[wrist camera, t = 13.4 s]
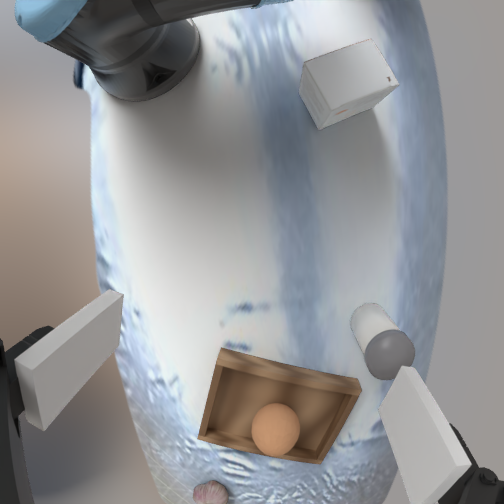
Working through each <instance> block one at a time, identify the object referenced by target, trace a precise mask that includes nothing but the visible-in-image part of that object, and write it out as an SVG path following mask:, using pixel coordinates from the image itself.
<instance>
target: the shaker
mask: <svg viewBox="0 0 504 504" xmlns="http://www.w3.org/2000/svg"><path fill="white" fill-rule="evenodd" d="M350 325H351V329H352V331H353V333H354V335H355V337H356V339H357V341H358V343H359V345H360V348H361V350H362V352H363V354H364V357H365V362H366V365H367V367H368V369H369V371H370V373H371V374H372V375H373V376H374V377H376V378H377V379H381V380H391V379H395V378H396V376H397V374H398V372H399V370H400V368H401V366H407V367H410V366H411V365H412V363H413V360H414V357H415V348H414V345H413V343H412V342H411V340H410V339H409V338H408V337H407V335H406V334H405V333H403V332H402V331H400V330H399V328H398V327H397V326H396V325H395V323H394V322H393V321H392V320H391V318H390V317H389V316H388V315H387V313H386V312H385V311H384V310H383V309H382V307H380V306H379V305H377V304H374V303H367V304H364V305H362V306H360V307H358V308H357V309H356V310H355V311H354V313H353V314H352V317H351V321H350Z"/></svg>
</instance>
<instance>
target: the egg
mask: <svg viewBox="0 0 504 504" xmlns="http://www.w3.org/2000/svg"><path fill="white" fill-rule="evenodd" d="M251 432H252V437H253V440H254V442H255V444H256V446H257V447H258V448H259V450H260V451H262V452H263V453H264V454H266V455H270V456H281V455H284V454H285V453H287V452H289V451H290V450H291V449H292V448H293V446H294V445H295V443H296V442H297V440H298V437H299V434H300V423H299V419H298V416H297V415H296V413H295V412H294V411H293V410H292V409H291V408H290V407H288V406H287V405H284V404H280V403H272V404H268V405H266V406H264V407H263V408H261V409H260V410H259V411H258V412H257V414H256V415H255V417H254V419H253V422H252V431H251Z"/></svg>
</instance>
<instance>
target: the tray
mask: <svg viewBox="0 0 504 504" xmlns="http://www.w3.org/2000/svg"><path fill="white" fill-rule="evenodd" d="M361 391H362V390H361V387H360V384H359V381H358V379H356V378H350V377H345V376H340V375H335V374H329V373H324V372H320V371H315V370H310V369H305V368H301V367H296V366H292V365H288V364H283V363H279V362H275V361H271V360H267V359H263V358H259V357H255V356H251V355H247V354H243V353H240V352H236V351H232V350H229V349H225V348H221V350H220V352H219V355H218V358H217V361H216V365H215V369H214V373H213V378H212V382H211V386H210V390H209V394H208V398H207V402H206V406H205V410H204V414H203V418H202V422H201V426H200V430H199V434H198V438H197V439H199V440H202V441H206V442H209V443H213V444H217V445H220V446H224V447H228V448H232V449H237V450H241V451H245V452H250V453H255V454H259V455H264V456H269V457H275V458H280V459H286V460H292V461H299V462H306V463H313V464H321V463H322V461H323V459H324V458H325V456H326V454H327V453H328V451H329V449H330V448H331V446H332V444H333V443H334V441H335V439H336V437H337V436H338V434H339V432H340V430H341V429H342V427H343V425H344V423H345V421H346V420H347V418H348V416H349V414H350V412H351V410H352V408H353V406H354V404H355V402H356V401H357V399H358V397H359V395H360V393H361ZM272 403H280V404H284V405H287V406H288V407H290V408H291V409H292V410H293V411H294V412H295V413H296V415H297V416H298V419H299V423H300V434H299V437H298V440H297V442H296V443H295V445H294V446H293V448H292V449H291V450H290V451H289V452H287V453H285V454H284V455H281V456H270V455H266V454H264V453H263V452H262V451H260V450H259V448H258V447H257V446H256V444H255V442H254V440H253V437H252V432H251V431H252V422H253V419H254V417H255V415H256V414H257V412H258V411H259V410H260V409H261V408H263V407H264V406H266V405H268V404H272Z"/></svg>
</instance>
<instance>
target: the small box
mask: <svg viewBox="0 0 504 504" xmlns="http://www.w3.org/2000/svg"><path fill="white" fill-rule="evenodd" d="M398 86H399V83H398V81H397V79H396V78H395V76H394V74H393V72H392V70H391V69H390V67H389V65H388V64H387V62H386V60H385V59H384V57H383V55H382V54H381V52H380V51H379V49H378V47H377V46H376V44H375V43H374V42H373V40H372V39H369V40H365V41H362V42H359V43H356V44H353V45H350V46H347V47H344V48H341V49H338V50H336V51H333V52H330V53H327V54H325V55H322V56H319V57H317V58H314V59H311V60H309V61H306V62H304V64H303V70H302V76H301V82H300V88H299V95H300V96H301V98H302V100H303V102H304V104H305V106H306V108H307V109H308V111H309V113H310V115H311V117H312V119H313V121H314V123H315V124H316V126H317V128H318V130H321V129H323V128H325V127H328V126H330V125H332V124H334V123H337V122H339V121H341V120H344V119H346V118H349V117H351V116H353V115H356V114H358V113H360V112H363V111H365V110H368V109H371V108H373V107H374V106H375V105H377V104H378V103H379V102H380V101H381V100H382V99H384V98H385V97H386V96H387V95H388V94H389V93H391V92H392V91H393V90H394V89H395V88H396V87H398Z"/></svg>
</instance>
